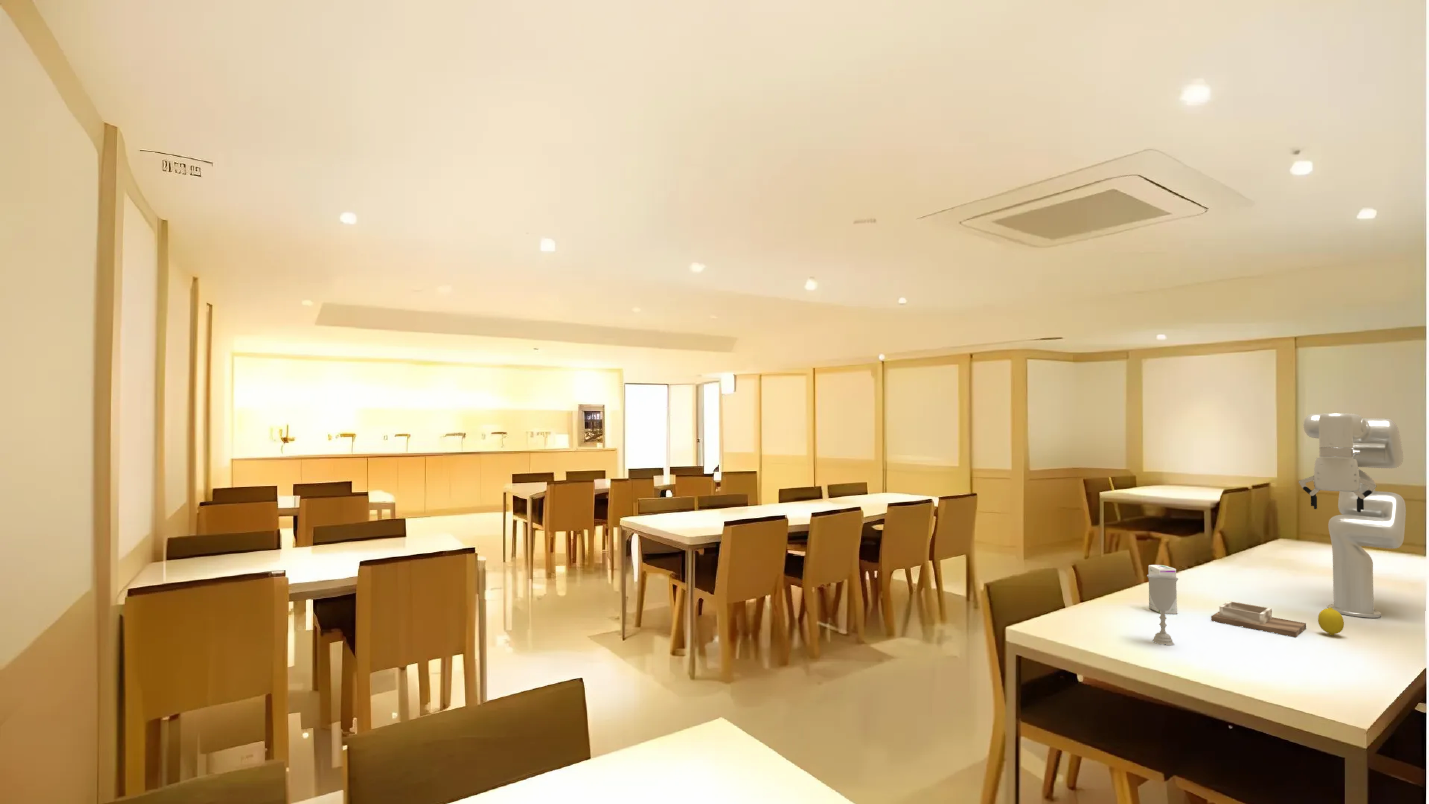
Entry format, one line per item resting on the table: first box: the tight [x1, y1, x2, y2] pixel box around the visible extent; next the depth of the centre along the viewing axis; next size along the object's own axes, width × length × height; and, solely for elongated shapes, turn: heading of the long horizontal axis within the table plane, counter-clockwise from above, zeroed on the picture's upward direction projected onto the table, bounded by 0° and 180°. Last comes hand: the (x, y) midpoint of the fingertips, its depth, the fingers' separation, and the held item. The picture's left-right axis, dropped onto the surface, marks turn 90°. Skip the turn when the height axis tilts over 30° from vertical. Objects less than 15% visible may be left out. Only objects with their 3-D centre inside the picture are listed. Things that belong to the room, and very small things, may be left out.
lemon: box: [1317, 608, 1345, 636], centre depth 194 cm, size 6×6×8 cm
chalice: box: [1146, 573, 1179, 646], centre depth 186 cm, size 7×7×18 cm
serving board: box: [1210, 600, 1307, 638], centre depth 204 cm, size 14×20×4 cm
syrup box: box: [1148, 564, 1178, 615], centre depth 217 cm, size 6×6×14 cm
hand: (1336, 510), depth 203 cm, fingers open, 9 cm apart
